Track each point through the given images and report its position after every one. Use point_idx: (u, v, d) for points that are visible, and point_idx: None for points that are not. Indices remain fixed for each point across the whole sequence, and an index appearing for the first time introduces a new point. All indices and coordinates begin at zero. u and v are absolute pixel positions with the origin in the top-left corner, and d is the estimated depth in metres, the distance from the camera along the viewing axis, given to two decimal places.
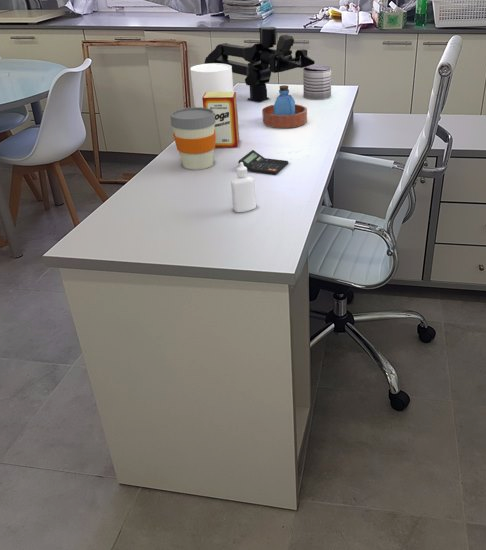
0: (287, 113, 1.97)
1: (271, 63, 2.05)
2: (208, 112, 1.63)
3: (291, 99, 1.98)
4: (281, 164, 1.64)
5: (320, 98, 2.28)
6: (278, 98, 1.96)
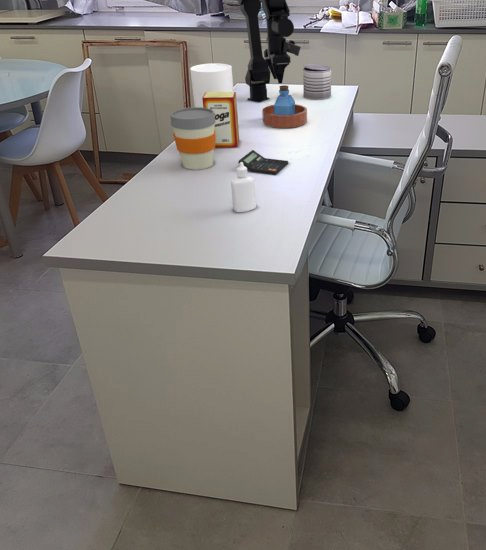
0: (287, 113, 1.97)
1: (282, 59, 1.93)
2: (208, 112, 1.63)
3: (291, 99, 1.98)
4: (281, 164, 1.64)
5: (320, 98, 2.28)
6: (278, 98, 1.96)
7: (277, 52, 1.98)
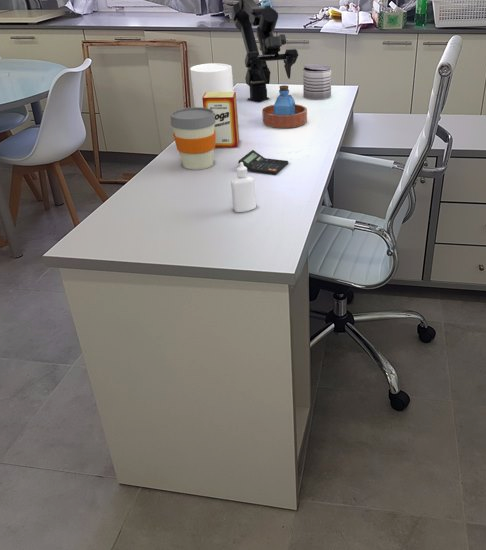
0: (287, 113, 1.97)
1: (246, 59, 2.00)
2: (208, 112, 1.63)
3: (291, 99, 1.98)
4: (281, 164, 1.64)
5: (320, 98, 2.28)
6: (278, 98, 1.96)
7: (262, 54, 2.03)
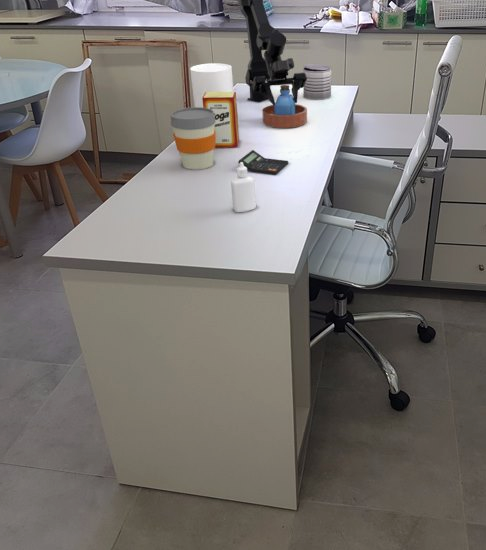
0: (287, 113, 1.97)
1: (253, 84, 1.96)
2: (208, 112, 1.63)
3: (292, 99, 1.98)
4: (281, 164, 1.64)
5: (320, 98, 2.28)
6: (279, 97, 1.96)
7: (270, 79, 1.99)
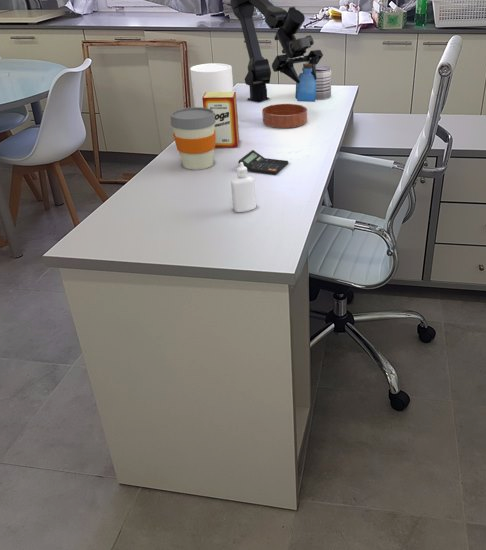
0: (311, 91, 1.99)
1: (274, 63, 1.95)
2: (208, 112, 1.63)
3: None
4: (281, 164, 1.64)
5: (320, 98, 2.28)
6: (303, 76, 1.97)
7: (288, 57, 1.98)
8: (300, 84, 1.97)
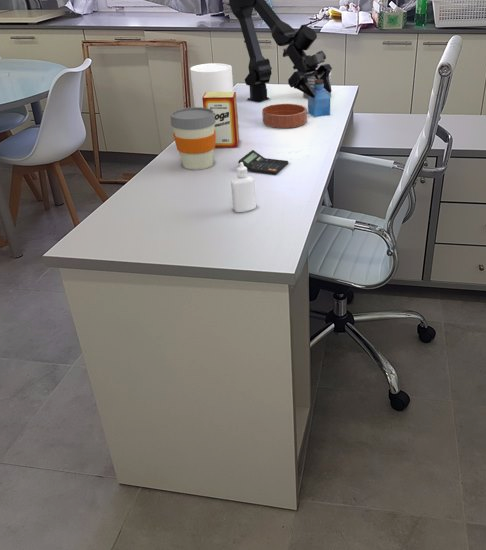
0: (326, 105, 2.07)
1: (292, 79, 2.00)
2: (208, 112, 1.63)
3: None
4: (281, 164, 1.64)
5: None
6: (317, 92, 2.04)
7: None
8: (316, 100, 2.05)
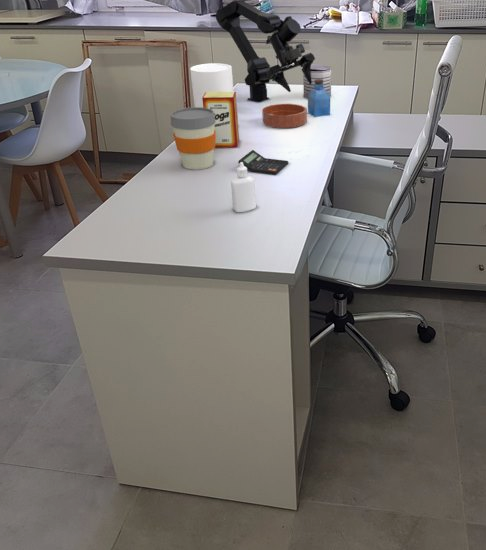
0: (326, 105, 2.07)
1: (268, 74, 2.07)
2: (208, 112, 1.63)
3: None
4: (281, 164, 1.64)
5: None
6: (317, 92, 2.04)
7: (282, 65, 2.09)
8: (316, 100, 2.05)
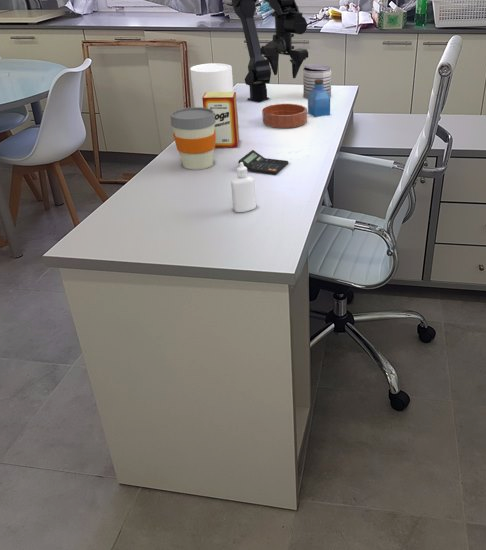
0: (326, 105, 2.07)
1: None
2: (208, 112, 1.63)
3: None
4: (281, 164, 1.64)
5: None
6: (317, 92, 2.04)
7: None
8: (316, 100, 2.05)
